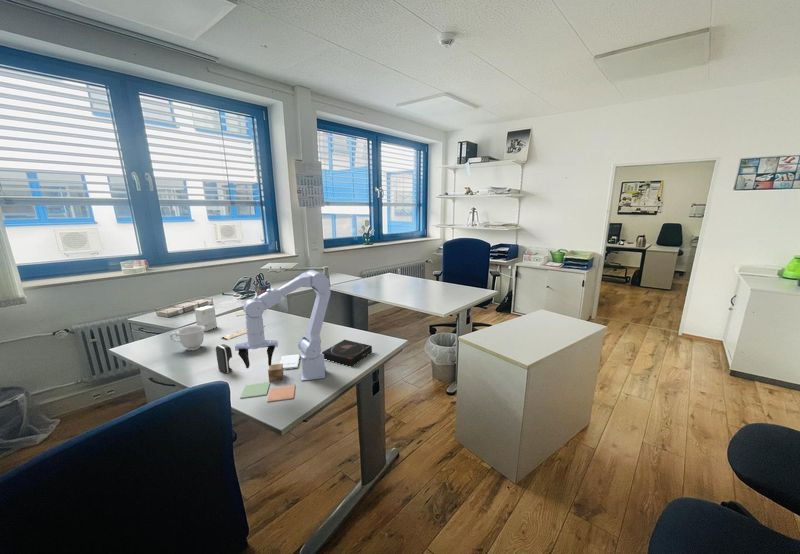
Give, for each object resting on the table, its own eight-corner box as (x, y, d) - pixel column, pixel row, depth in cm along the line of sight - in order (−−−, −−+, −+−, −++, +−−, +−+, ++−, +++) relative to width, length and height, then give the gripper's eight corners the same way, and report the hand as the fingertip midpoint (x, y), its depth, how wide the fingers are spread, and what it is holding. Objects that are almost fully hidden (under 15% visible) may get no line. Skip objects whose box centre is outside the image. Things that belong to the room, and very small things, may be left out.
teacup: (174, 347, 163) (171, 328, 161) (208, 341, 170) (205, 323, 168) (170, 356, 153) (167, 336, 151) (206, 350, 159) (204, 331, 157)
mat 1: (270, 382, 129) (270, 381, 128) (266, 395, 120) (266, 394, 120) (245, 385, 126) (245, 384, 126) (240, 398, 118) (240, 397, 118)
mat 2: (295, 385, 126) (295, 385, 126) (293, 398, 118) (293, 397, 117) (270, 389, 124) (270, 388, 124) (267, 402, 115) (267, 401, 115)
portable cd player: (343, 346, 163) (343, 339, 162) (371, 353, 155) (371, 345, 154) (321, 359, 149) (321, 351, 148) (351, 368, 141) (350, 359, 140)
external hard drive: (300, 357, 152) (298, 369, 140) (282, 359, 150) (278, 371, 139) (300, 354, 152) (297, 366, 140) (281, 356, 150) (277, 368, 138)
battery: (235, 370, 139) (232, 345, 136) (226, 374, 136) (223, 349, 133) (226, 366, 143) (223, 342, 140) (218, 369, 140) (214, 345, 137)
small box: (210, 325, 194) (208, 305, 191) (217, 327, 191) (214, 306, 188) (197, 330, 187) (194, 308, 184) (203, 332, 184) (200, 310, 181)
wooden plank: (227, 341, 172) (227, 338, 171) (219, 339, 175) (219, 335, 175) (265, 327, 192) (264, 324, 192) (257, 325, 195) (257, 322, 195)
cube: (283, 374, 135) (282, 363, 134) (282, 380, 131) (281, 369, 130) (271, 375, 134) (269, 364, 133) (269, 382, 129) (268, 370, 128)
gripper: (231, 337, 112) (235, 373, 115) (275, 333, 116) (278, 368, 118) (236, 330, 119) (240, 364, 122) (277, 327, 122) (280, 360, 125)
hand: (259, 365), depth 120 cm, fingers open, 7 cm apart
